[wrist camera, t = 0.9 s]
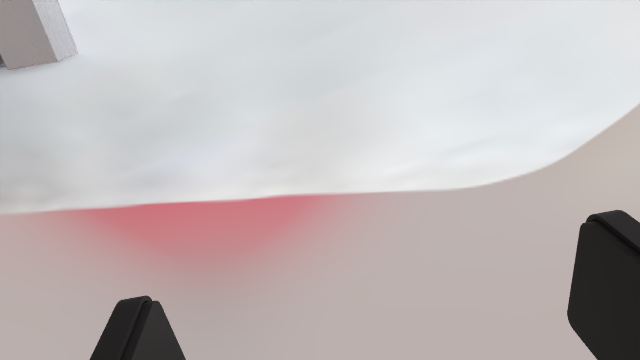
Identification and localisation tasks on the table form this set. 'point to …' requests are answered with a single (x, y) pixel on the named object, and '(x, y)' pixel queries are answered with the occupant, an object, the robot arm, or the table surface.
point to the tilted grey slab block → (33, 33)
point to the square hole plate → (1, 61)
